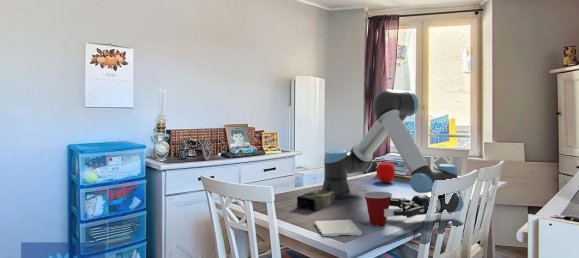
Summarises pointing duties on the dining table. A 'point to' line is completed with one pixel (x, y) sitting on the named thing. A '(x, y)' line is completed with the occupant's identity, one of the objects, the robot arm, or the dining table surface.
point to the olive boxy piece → (316, 199)
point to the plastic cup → (377, 206)
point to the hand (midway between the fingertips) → (375, 207)
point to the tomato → (385, 172)
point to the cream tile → (337, 228)
